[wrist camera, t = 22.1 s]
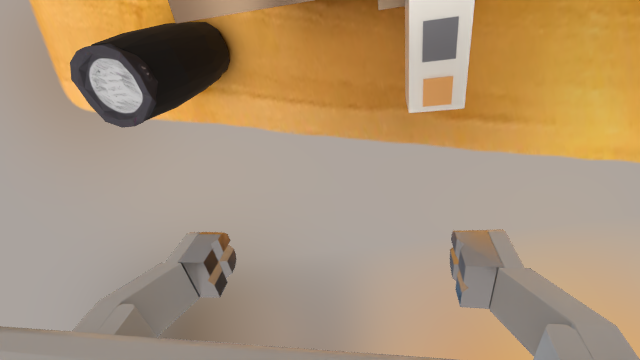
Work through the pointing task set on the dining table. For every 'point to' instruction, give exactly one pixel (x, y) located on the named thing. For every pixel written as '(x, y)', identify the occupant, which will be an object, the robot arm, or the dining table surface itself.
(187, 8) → the stand
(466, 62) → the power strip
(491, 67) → the dining table surface
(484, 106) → the dining table surface
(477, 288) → the robot arm
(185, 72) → the portable speaker
